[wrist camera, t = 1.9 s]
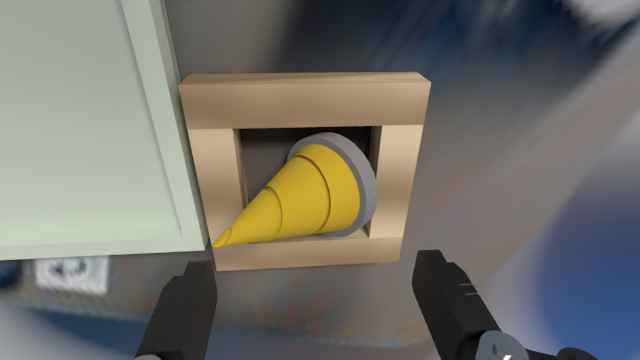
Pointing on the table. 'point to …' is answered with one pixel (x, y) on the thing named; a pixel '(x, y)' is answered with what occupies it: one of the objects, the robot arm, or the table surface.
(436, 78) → the table surface
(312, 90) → the square wooden frame
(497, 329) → the robot arm
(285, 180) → the yellow cone
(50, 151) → the tray
